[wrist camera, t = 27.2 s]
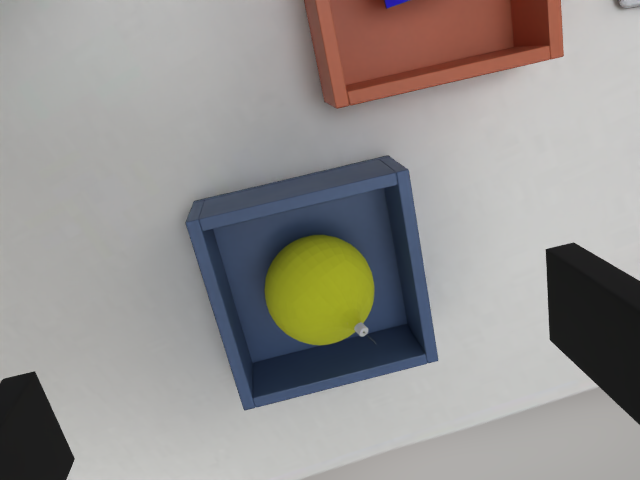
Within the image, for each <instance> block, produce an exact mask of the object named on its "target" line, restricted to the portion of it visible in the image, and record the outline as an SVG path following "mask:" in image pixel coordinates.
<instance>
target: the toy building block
mask: <svg viewBox="0 0 640 480" xmlns="http://www.w3.org/2000/svg"><path fill="white" fill-rule="evenodd" d="M408 1H410V0H384V3H385V7H386V9H388V8H390V7H393V6H396V5H399V4H402V3H405V2H408Z"/></svg>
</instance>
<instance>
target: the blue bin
mask: <svg viewBox="0 0 640 480" xmlns="http://www.w3.org/2000/svg"><path fill="white" fill-rule="evenodd" d="M186 226H187V229H188V233H189V236H190V239H191V242H192V245H193V249H194V252H195V255H196V258H197V261H198V265H199V268H200V271H201V274H202V277H203V281H204V284H205V287H206V290H207V293H208V297H209V300H210V303H211V306H212V309H213V313H214V316H215V319H216V322H217V325H218V329H219V332H220V335H221V338H222V342H223V345H224V348H225V351H226V354H227V358H228V361H229V364H230V367H231V370H232V374H233V377H234V380H235V383H236V386H237V390H238V393H239V396H240V399H241V402H242V406H243V409H244V410H248V409H252V408H255V407H260V406H264V405H268V404H272V403H276V402H280V401H284V400H288V399H291V398H295V397H299V396H303V395H307V394H311V393H315V392H319V391H323V390H327V389H331V388H334V387H338V386H342V385H346V384H350V383H354V382H358V381H362V380H366V379H370V378H373V377H377V376H381V375H385V374H389V373H393V372H397V371H401V370H405V369H409V368H412V367H416V366H420V365H424V364H427V363H431V362H435V361H438V355H437V348H436V342H435V336H434V329H433V323H432V316H431V310H430V304H429V297H428V291H427V284H426V278H425V271H424V265H423V259H422V252H421V246H420V239H419V233H418V227H417V220H416V214H415V207H414V201H413V195H412V188H411V182H410V175H409V170H408V169H407V168H405V167H404V166H402V165H401V164H399V163H398V162H397V161H395V160H394V159H392V158H391V157H390V156H384V157H379V158H375V159H371V160H367V161H362V162H358V163H354V164H350V165H345V166H341V167H337V168H333V169H329V170H324V171H320V172H316V173H312V174H307V175H303V176H299V177H295V178H290V179H286V180H282V181H278V182H273V183H269V184H265V185H261V186H256V187H252V188H248V189H244V190H240V191H235V192H231V193H227V194H223V195H218V196H214V197H210V198H206V199H201V200H197V201H194V202H193V205H192V208H191V210H190V213H189V215H188V218H187V220H186ZM311 235H327V236H332V237H337V238H339V239H341V240H343V241H345V242H347V243H349V244H351V245H352V246H353V247H355V248H356V249H357V250H358V251H359V252H360V253H361V254H362V256H363V257H364V258H365V259H366V261H367V263H368V265H369V267H370V270H371V272H372V276H373V281H374V301H373V305H372V308H371V311H370V313H369V315H368V317H367V319H366V320H365V321H364V323H363V324H364V325H365V326H366V327H367V328H368V333H367V335H368V336H369V337H370V338H369V337H368V336H367V335H365V336H363V337H361V336H360V335H359V334H358V333H357V332H355V333H353V334H352V335H350V336H349V337H347V338H345V339H343V340H341V341H339V342H336V343H332V344H328V345H311V344H307V343H303V342H300V341H298V340H296V339H294V338H292V337H290V336H289V335H287V334H286V333H285V332H284V331H282V330H281V329H280V328H279V327H278V326H277V325H276V323H275V321H274V320H273V318H272V317H271V315H270V313H269V310H268V307H267V304H266V300H265V291H264V290H265V279H266V275H267V272H268V269H269V267H270V265H271V263H272V261H273V260H274V258H275V257H276V256H277V254H278V253H279V252H280V251H281V250H282V249H283V248H284V247H286V246H287V245H289V244H290V243H292V242H293V241H295V240H298V239H300V238H303V237H307V236H311ZM373 340H374V341H373ZM374 342H375V343H374Z"/></svg>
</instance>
